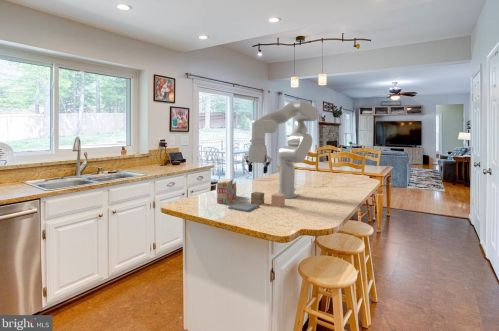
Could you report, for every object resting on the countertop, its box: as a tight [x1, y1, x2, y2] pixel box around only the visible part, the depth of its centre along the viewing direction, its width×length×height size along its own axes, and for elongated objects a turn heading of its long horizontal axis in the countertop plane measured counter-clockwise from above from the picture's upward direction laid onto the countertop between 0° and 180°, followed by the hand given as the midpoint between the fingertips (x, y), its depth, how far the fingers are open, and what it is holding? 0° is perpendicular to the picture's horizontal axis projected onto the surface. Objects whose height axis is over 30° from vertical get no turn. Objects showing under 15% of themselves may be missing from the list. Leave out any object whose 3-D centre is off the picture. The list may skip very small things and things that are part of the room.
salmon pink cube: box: [270, 193, 286, 208], centre depth 173 cm, size 6×6×6 cm
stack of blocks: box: [216, 178, 237, 205], centre depth 186 cm, size 21×6×12 cm, turn 169°
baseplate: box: [228, 201, 260, 213], centre depth 167 cm, size 12×12×1 cm
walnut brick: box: [250, 191, 265, 206], centre depth 178 cm, size 6×6×6 cm
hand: (257, 172), depth 176 cm, fingers open, 9 cm apart
